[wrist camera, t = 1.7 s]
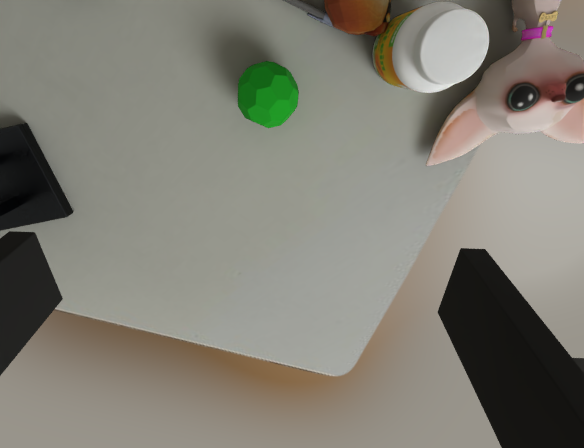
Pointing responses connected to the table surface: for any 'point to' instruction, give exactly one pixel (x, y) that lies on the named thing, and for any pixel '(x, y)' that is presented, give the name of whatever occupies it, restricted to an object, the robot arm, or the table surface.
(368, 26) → the hot dog
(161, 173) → the table surface
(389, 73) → the supplement bottle
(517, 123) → the toy dog
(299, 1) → the pen
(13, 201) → the switch bracket
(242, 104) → the polyhedron
